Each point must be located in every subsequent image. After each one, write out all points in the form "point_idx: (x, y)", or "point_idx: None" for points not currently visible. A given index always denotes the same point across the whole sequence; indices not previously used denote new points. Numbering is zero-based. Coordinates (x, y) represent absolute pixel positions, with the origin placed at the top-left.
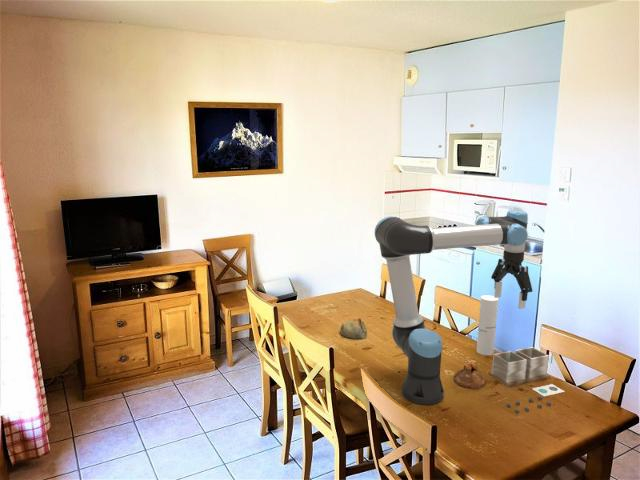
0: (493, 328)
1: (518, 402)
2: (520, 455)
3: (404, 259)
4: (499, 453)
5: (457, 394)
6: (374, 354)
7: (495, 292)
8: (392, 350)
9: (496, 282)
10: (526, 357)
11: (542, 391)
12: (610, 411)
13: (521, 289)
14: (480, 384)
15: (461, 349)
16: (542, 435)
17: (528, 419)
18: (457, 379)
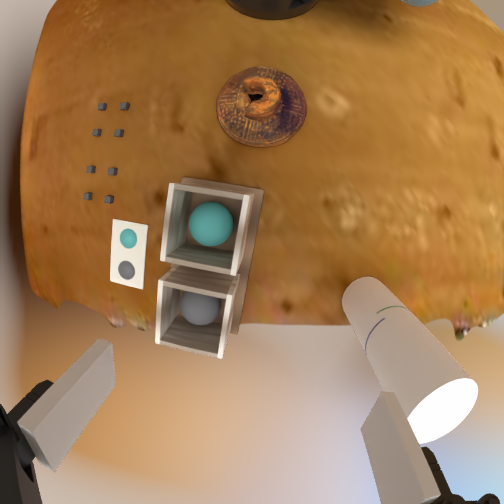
0: (365, 340)
1: (115, 131)
2: (51, 40)
3: None
4: (70, 15)
5: (227, 40)
6: (473, 51)
7: (400, 422)
8: (480, 96)
9: (429, 497)
10: (181, 283)
11: (126, 234)
12: (45, 282)
13: (3, 446)
14: (217, 105)
15: (412, 253)
16: (49, 101)
17: (81, 112)
18: (268, 67)
